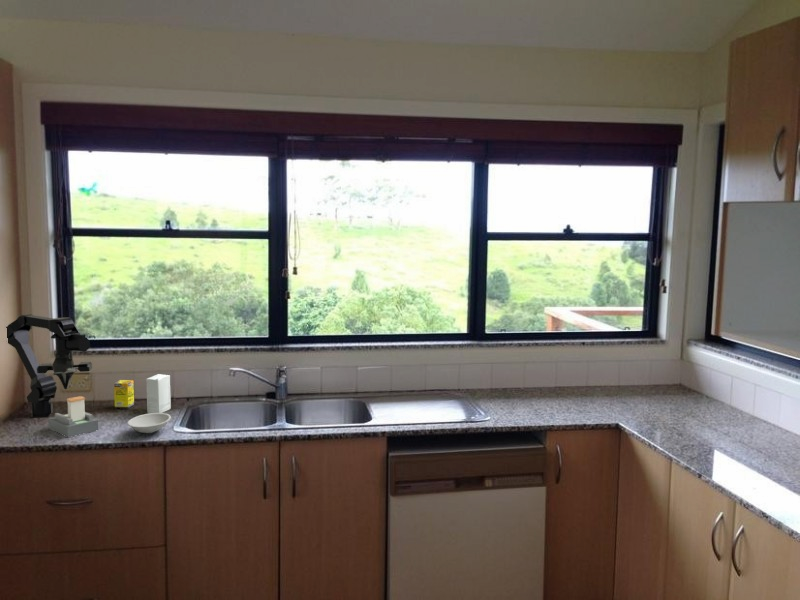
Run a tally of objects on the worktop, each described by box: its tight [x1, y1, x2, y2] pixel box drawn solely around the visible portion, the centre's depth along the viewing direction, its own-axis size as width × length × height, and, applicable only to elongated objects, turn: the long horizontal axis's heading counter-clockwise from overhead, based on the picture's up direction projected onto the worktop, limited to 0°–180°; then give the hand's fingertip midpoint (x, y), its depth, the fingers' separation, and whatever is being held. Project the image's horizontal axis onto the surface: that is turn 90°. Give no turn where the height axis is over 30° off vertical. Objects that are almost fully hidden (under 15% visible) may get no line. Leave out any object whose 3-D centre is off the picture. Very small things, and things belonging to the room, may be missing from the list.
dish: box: [127, 412, 172, 434], centre depth 237 cm, size 18×14×5 cm
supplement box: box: [113, 379, 135, 410], centre depth 270 cm, size 6×6×11 cm
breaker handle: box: [66, 395, 86, 422], centre depth 237 cm, size 3×5×8 cm, turn 141°
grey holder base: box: [48, 411, 99, 438], centre depth 240 cm, size 16×11×6 cm
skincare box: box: [145, 373, 172, 414], centre depth 264 cm, size 8×6×15 cm
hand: (66, 388), depth 252 cm, fingers closed
